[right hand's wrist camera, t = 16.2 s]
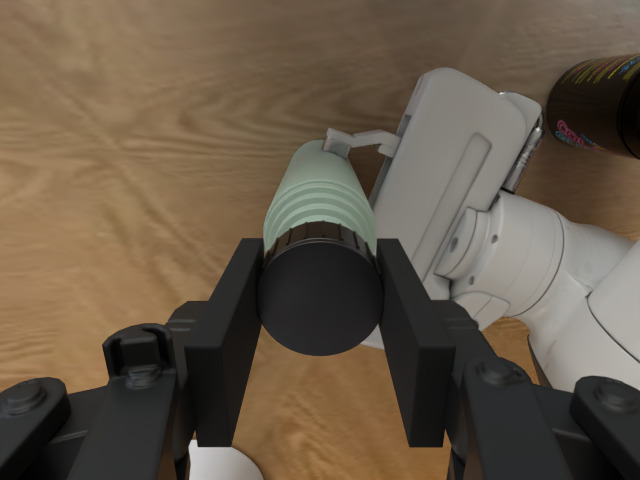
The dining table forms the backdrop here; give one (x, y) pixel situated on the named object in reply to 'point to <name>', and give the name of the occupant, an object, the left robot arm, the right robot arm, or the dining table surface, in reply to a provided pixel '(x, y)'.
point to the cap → (320, 289)
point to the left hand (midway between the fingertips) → (308, 184)
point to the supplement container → (598, 106)
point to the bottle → (319, 196)
